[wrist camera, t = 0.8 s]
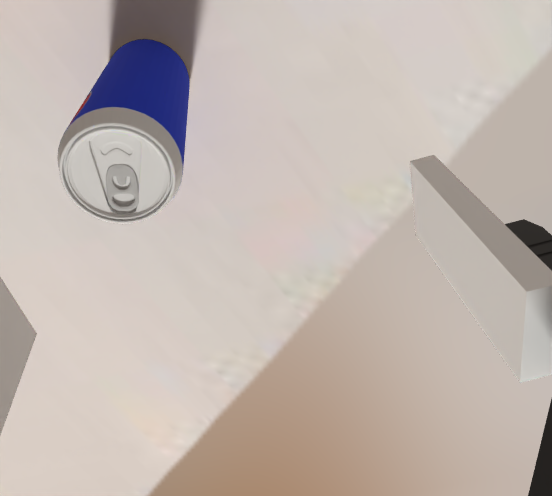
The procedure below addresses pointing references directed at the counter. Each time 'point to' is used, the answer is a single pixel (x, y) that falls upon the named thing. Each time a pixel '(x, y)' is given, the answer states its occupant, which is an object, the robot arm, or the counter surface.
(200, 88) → the counter surface
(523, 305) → the robot arm
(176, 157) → the beverage can
